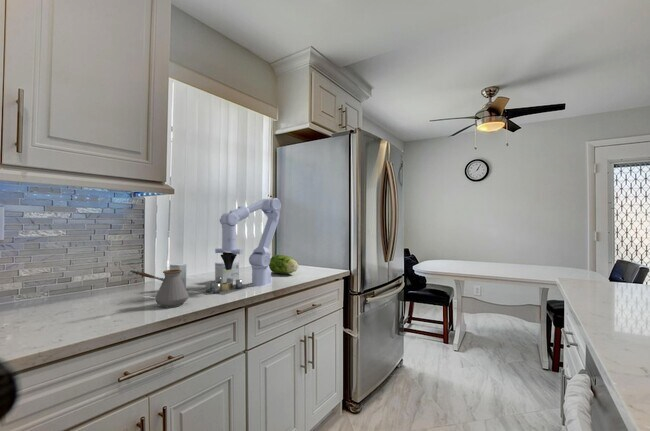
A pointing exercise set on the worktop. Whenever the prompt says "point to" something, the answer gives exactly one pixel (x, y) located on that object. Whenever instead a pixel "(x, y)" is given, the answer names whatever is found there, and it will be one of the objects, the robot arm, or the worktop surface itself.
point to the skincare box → (182, 273)
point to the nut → (225, 286)
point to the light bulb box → (227, 271)
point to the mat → (221, 291)
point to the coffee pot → (169, 288)
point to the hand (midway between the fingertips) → (228, 269)
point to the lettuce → (283, 264)
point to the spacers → (216, 286)
